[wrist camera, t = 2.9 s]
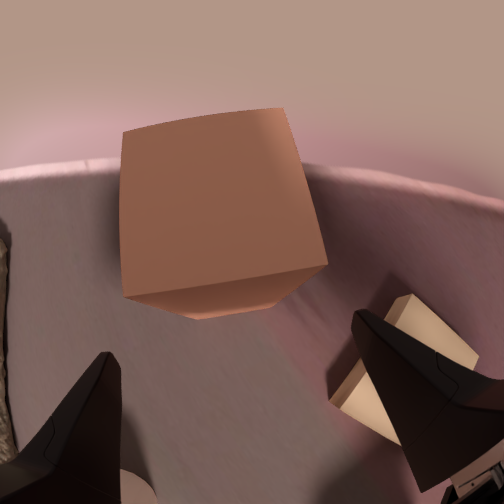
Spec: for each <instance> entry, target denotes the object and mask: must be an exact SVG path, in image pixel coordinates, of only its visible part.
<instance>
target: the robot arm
mask: <svg viewBox="0 0 504 504" xmlns="http://www.w3.org/2000/svg"><path fill="white" fill-rule="evenodd" d="M351 331H352V334H353V337H354V340H355V342H356V345H357V348H358V351H359V353H360V356H361V359H362V362H363V364H364V367H365V369H366V371H367V373H368V375H369V377H370V379H371V381H372V383H373V385H374V387H375V390H376V392H377V394H378V396H379V398H380V400H381V402H382V404H383V406H384V409H385V411H386V413H387V415H388V417H389V419H390V422H391V424H392V426H393V428H394V430H395V433H396V435H397V437H398V439H399V442H400V444H401V446H402V449H403V451H404V454H405V456H406V458H407V461H408V463H409V465H410V468H411V470H412V473H413V475H414V477H415V480H416V482H417V485H418V487H419V490H420V492H421V493H423V492H425V491H427V490H429V489H430V488H432V487H434V486H436V485H438V484H439V483H441V482H443V481H445V480H446V479H448V478H450V479H451V481H452V483H453V484H452V485H450V486H449V487H447V488H446V491H445V494H444V496H443V499H442V501H441V504H504V379H503V380H497V379H492V378H488V377H486V376H484V375H482V374H480V373H477V372H475V371H473V370H471V369H469V368H467V367H465V366H463V365H461V364H459V363H457V362H455V361H453V360H451V359H449V358H447V357H446V356H444V355H442V354H441V353H439V352H437V351H435V350H434V349H432V348H430V347H429V346H427V345H425V344H424V343H422V342H420V341H419V340H417V339H415V338H414V337H412V336H410V335H409V334H407V333H405V332H404V331H402V330H400V329H399V328H397V327H395V326H393V325H392V324H390V323H388V322H387V321H385V320H383V319H382V318H380V317H378V316H377V315H375V314H373V313H371V312H370V311H368V310H366V309H360V310H356V311H355V312H354V314H353V319H352V324H351ZM121 415H122V392H121V368H120V365H119V363H118V362H117V360H116V359H115V357H114V355H113V354H112V353H111V352H101V353H100V354H99V355H98V356H97V357H96V359H95V360H94V361H93V362H92V363H91V365H90V366H89V367H88V368H87V370H86V371H85V372H84V373H83V375H82V376H81V377H80V378H79V380H78V381H77V382H76V383H75V385H74V386H73V387H72V389H71V390H70V391H69V392H68V394H67V395H66V396H65V398H64V399H63V400H62V401H61V403H60V404H59V405H58V407H57V408H56V409H55V411H54V412H53V413H52V416H50V417H49V419H48V420H47V421H46V423H45V424H44V425H43V426H42V428H41V429H40V430H39V432H38V433H37V434H36V435H35V436H34V437H33V439H32V440H31V441H30V442H29V443H28V444H27V445H26V446H25V448H24V449H23V450H22V451H21V452H20V453H19V454H18V456H17V457H16V458H14V459H13V460H12V461H10V462H8V463H5V464H0V504H121V486H120V437H121Z"/></svg>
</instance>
